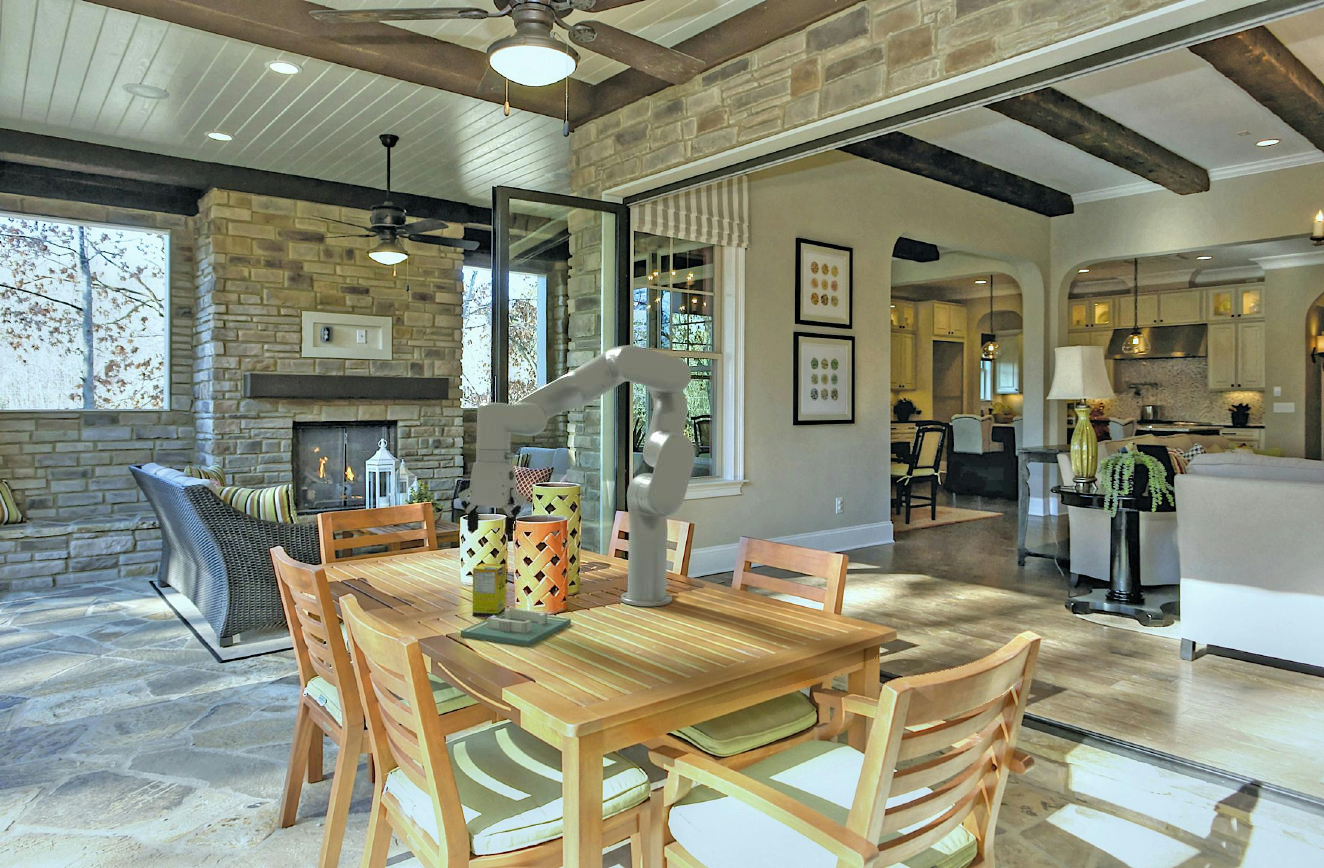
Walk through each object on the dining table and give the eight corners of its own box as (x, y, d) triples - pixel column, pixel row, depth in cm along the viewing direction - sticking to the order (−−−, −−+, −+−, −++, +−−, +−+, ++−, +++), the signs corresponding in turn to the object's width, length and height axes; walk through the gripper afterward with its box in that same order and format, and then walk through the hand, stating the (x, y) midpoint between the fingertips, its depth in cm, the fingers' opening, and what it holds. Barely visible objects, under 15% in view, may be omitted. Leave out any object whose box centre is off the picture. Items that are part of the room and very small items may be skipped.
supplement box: (505, 610, 186) (506, 563, 185) (497, 617, 180) (498, 569, 179) (480, 609, 186) (481, 562, 186) (471, 616, 180) (472, 567, 180)
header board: (507, 615, 181) (508, 601, 181) (570, 624, 176) (571, 609, 176) (460, 636, 165) (460, 621, 164) (528, 646, 159) (528, 631, 159)
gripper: (535, 458, 181) (533, 533, 182) (469, 454, 187) (468, 527, 188) (518, 460, 174) (516, 538, 175) (451, 455, 180) (449, 531, 181)
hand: (491, 532), depth 182 cm, fingers open, 9 cm apart
